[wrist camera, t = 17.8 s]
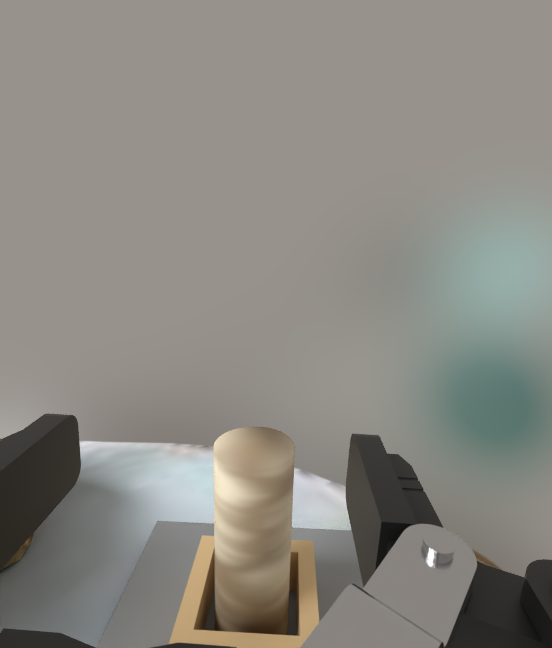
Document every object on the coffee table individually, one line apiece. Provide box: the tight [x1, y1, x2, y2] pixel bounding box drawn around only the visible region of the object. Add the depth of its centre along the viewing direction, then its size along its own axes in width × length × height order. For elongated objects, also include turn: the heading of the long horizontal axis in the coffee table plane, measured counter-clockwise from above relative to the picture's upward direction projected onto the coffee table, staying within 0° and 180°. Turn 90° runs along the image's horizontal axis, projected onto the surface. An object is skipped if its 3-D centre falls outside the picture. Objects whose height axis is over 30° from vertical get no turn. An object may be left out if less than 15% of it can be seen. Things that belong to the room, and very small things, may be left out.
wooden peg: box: [214, 427, 295, 635], centre depth 26 cm, size 5×5×14 cm
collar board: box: [97, 521, 364, 648], centre depth 27 cm, size 20×20×5 cm
